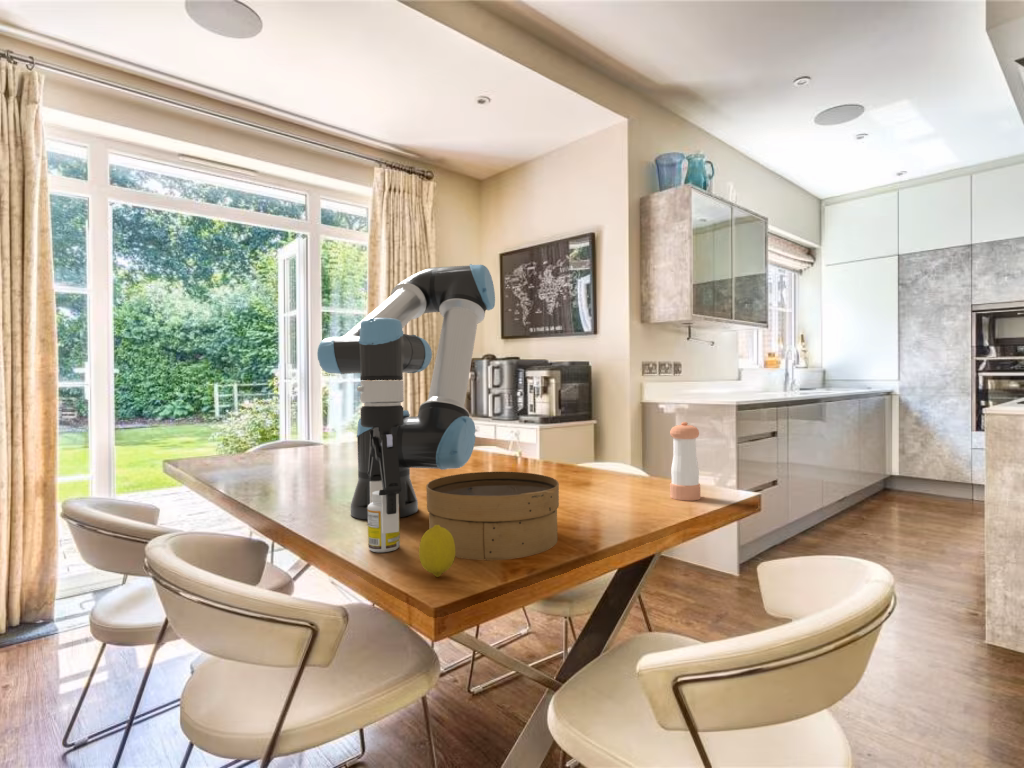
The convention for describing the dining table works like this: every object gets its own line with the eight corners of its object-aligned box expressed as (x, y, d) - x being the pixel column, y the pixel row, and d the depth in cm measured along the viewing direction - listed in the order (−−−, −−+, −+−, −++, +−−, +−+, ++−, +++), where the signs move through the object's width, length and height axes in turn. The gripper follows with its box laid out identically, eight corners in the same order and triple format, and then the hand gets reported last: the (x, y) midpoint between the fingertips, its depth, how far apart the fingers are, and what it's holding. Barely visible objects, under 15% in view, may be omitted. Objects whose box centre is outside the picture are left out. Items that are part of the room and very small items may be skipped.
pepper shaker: (704, 500, 134) (703, 422, 134) (675, 501, 134) (674, 423, 134) (694, 494, 141) (693, 420, 141) (666, 494, 141) (665, 421, 141)
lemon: (412, 577, 83) (411, 525, 83) (440, 568, 87) (439, 518, 87) (435, 586, 79) (434, 531, 79) (463, 576, 83) (462, 524, 83)
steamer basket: (586, 548, 97) (584, 484, 97) (452, 572, 86) (450, 501, 86) (525, 518, 119) (523, 466, 119) (413, 534, 109) (411, 478, 109)
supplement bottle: (401, 543, 101) (400, 488, 101) (398, 552, 95) (397, 494, 95) (370, 544, 100) (370, 489, 100) (365, 554, 95) (364, 495, 95)
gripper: (352, 403, 108) (353, 510, 108) (371, 407, 85) (373, 544, 85) (390, 402, 111) (391, 506, 111) (418, 406, 88) (420, 538, 88)
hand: (383, 523), depth 98 cm, fingers open, 12 cm apart
